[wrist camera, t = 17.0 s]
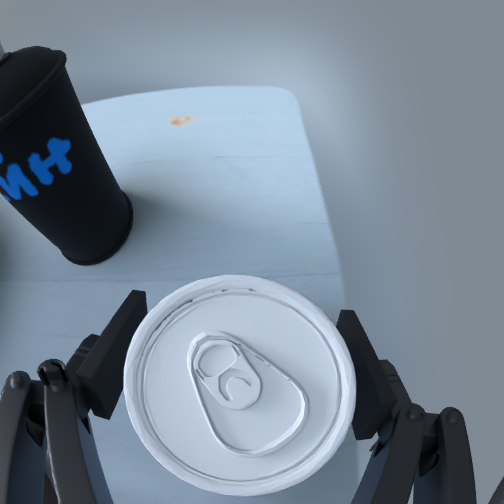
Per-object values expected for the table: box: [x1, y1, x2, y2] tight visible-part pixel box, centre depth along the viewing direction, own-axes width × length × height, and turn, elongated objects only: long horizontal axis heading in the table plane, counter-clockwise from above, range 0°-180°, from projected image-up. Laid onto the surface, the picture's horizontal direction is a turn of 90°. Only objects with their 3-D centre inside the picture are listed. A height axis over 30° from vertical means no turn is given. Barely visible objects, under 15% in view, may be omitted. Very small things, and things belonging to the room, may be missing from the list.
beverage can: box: [124, 275, 356, 496], centre depth 12 cm, size 6×6×15 cm
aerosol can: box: [0, 42, 133, 265], centre depth 14 cm, size 8×8×20 cm
